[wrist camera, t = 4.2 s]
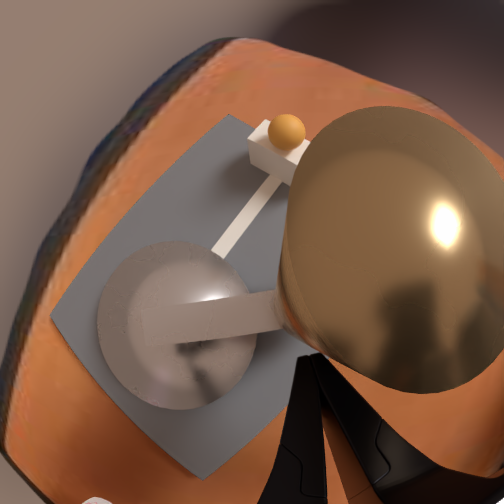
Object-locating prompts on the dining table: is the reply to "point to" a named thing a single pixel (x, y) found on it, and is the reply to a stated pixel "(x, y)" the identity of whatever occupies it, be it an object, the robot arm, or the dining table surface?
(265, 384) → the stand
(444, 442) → the dining table surface
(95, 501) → the beverage cup
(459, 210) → the wall lamp
